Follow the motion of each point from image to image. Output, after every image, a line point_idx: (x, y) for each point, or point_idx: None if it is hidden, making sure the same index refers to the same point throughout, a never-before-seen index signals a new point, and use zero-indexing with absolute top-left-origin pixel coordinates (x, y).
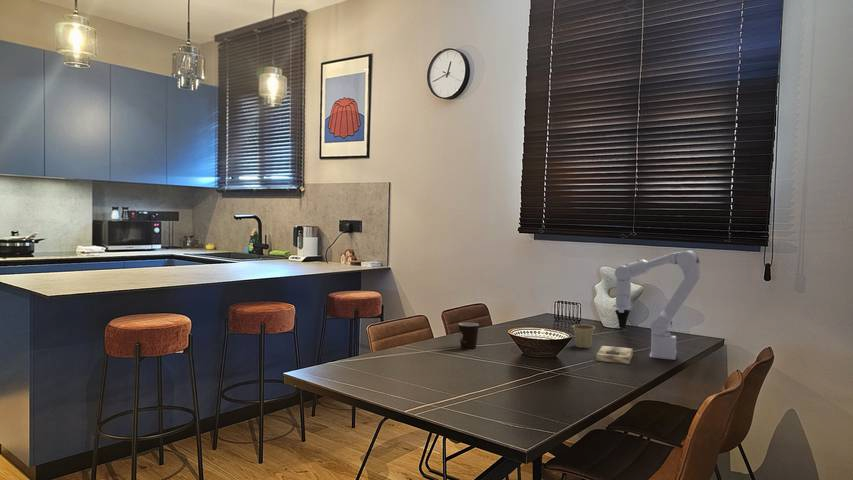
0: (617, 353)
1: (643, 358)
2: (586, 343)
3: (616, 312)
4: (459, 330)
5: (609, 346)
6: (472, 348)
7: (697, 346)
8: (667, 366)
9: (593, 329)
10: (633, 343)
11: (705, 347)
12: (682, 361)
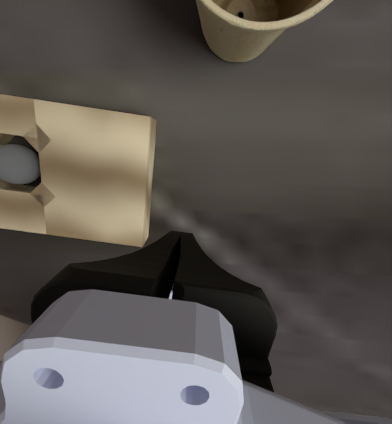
0: (13, 183)
1: None
2: (201, 24)
3: (55, 279)
4: None
5: (146, 153)
6: None
7: (326, 407)
8: (29, 314)
9: (232, 21)
10: (351, 253)
11: None
12: None
